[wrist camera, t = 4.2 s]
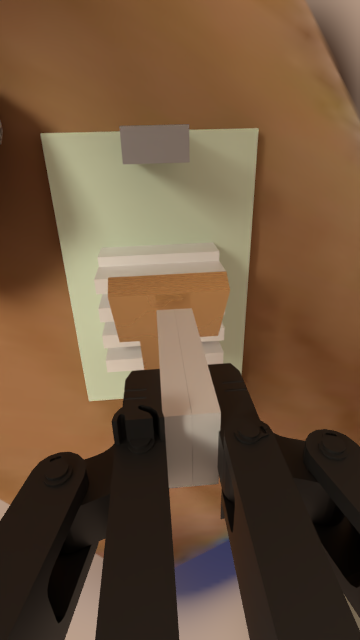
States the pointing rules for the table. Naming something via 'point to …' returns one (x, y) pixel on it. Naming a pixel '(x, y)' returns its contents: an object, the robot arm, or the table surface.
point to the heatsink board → (150, 228)
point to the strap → (165, 306)
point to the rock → (1, 132)
